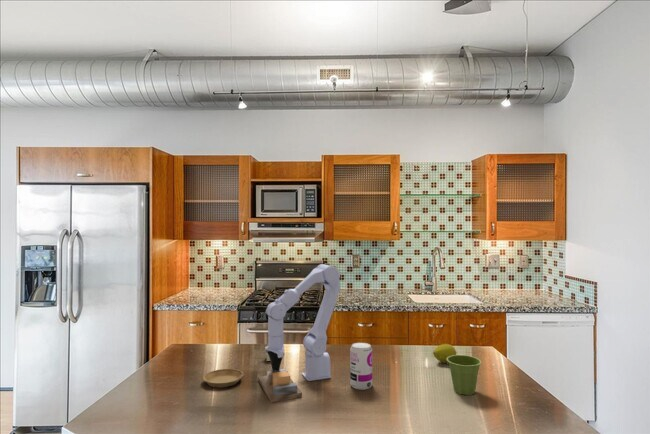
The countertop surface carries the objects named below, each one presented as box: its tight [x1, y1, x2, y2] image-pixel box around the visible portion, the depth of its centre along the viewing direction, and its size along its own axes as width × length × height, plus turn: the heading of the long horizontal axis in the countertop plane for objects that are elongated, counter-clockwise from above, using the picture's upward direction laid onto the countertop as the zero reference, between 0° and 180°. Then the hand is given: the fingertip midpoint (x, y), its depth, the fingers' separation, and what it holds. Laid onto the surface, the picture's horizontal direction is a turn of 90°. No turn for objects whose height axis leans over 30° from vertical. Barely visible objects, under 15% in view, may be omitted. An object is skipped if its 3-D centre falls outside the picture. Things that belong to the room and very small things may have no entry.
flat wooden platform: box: [257, 375, 303, 403], centre depth 147 cm, size 11×20×4 cm, turn 22°
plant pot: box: [447, 354, 482, 396], centre depth 145 cm, size 12×12×11 cm
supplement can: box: [349, 342, 373, 391], centre depth 150 cm, size 8×8×15 cm
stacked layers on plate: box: [265, 345, 270, 362], centre depth 179 cm, size 10×9×6 cm
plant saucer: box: [203, 368, 244, 388], centre depth 154 cm, size 15×15×3 cm
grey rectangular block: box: [266, 368, 288, 384], centre depth 150 cm, size 7×3×4 cm, turn 112°
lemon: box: [432, 343, 457, 364], centre depth 175 cm, size 11×8×8 cm
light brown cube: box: [273, 370, 291, 386], centre depth 144 cm, size 5×5×5 cm
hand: (275, 371), depth 152 cm, fingers closed
